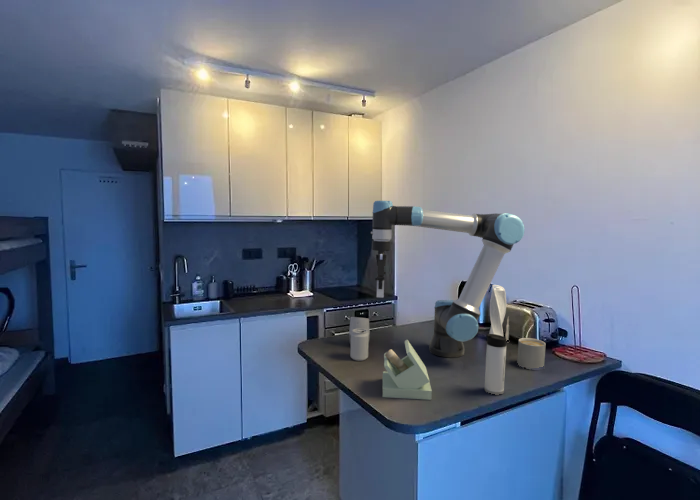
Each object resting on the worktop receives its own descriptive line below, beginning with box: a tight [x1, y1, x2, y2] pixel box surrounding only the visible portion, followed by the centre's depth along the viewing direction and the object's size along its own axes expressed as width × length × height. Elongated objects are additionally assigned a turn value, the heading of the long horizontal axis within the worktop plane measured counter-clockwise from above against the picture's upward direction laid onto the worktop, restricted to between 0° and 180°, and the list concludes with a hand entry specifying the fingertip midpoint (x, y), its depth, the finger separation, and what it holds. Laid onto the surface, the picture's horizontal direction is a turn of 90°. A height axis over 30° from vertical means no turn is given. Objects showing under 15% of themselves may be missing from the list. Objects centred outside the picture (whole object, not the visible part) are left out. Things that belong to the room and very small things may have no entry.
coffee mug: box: [516, 337, 546, 368], centre depth 161 cm, size 13×10×10 cm
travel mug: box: [484, 333, 507, 396], centre depth 136 cm, size 6×7×20 cm
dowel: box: [384, 349, 409, 372], centre depth 137 cm, size 3×3×12 cm
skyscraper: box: [488, 284, 510, 341], centre depth 191 cm, size 8×8×28 cm
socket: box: [382, 339, 433, 401], centre depth 136 cm, size 16×14×16 cm
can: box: [349, 329, 370, 362], centre depth 165 cm, size 8×8×12 cm
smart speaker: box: [348, 316, 371, 345], centre depth 181 cm, size 10×9×14 cm
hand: (380, 293), depth 157 cm, fingers open, 13 cm apart
